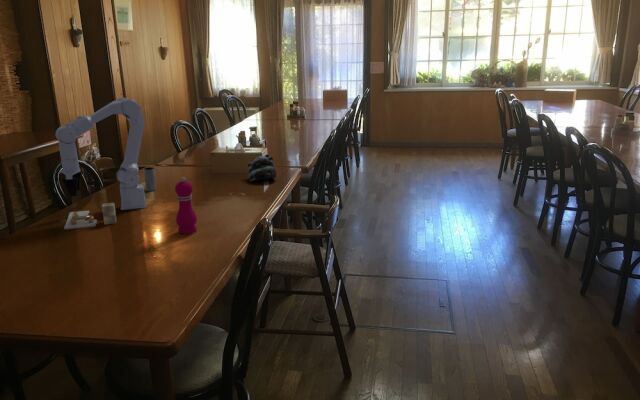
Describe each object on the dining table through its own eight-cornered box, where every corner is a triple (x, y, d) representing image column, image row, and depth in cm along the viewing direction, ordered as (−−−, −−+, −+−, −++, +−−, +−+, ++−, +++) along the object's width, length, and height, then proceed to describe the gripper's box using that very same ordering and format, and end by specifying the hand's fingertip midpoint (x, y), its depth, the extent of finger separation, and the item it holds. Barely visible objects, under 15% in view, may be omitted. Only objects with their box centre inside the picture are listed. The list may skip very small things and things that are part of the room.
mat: (89, 211, 205) (89, 210, 205) (87, 216, 199) (87, 215, 199) (70, 213, 203) (70, 212, 203) (67, 218, 197) (67, 217, 197)
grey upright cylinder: (153, 191, 233) (151, 169, 230) (144, 191, 233) (141, 169, 230) (158, 189, 237) (156, 167, 234) (149, 188, 238) (147, 167, 235)
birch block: (116, 220, 195) (114, 202, 193) (115, 223, 191) (113, 205, 189) (105, 221, 194) (102, 203, 192) (104, 224, 190) (101, 206, 188)
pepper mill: (201, 229, 184) (197, 175, 178) (190, 236, 178) (186, 180, 172) (184, 227, 187) (179, 174, 181) (173, 233, 180) (167, 179, 174)
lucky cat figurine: (243, 183, 246) (240, 155, 248) (255, 186, 257) (251, 160, 259) (271, 175, 241) (267, 148, 244) (282, 180, 252) (278, 153, 255)
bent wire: (96, 215, 197) (95, 209, 197) (93, 222, 190) (93, 216, 189) (74, 218, 195) (73, 211, 194) (71, 224, 188) (70, 218, 187)
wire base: (98, 217, 198) (97, 215, 198) (95, 226, 188) (95, 224, 188) (68, 220, 195) (68, 218, 195) (64, 229, 185) (63, 227, 185)
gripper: (61, 155, 197) (66, 189, 201) (54, 163, 184) (60, 199, 188) (80, 154, 199) (86, 187, 203) (75, 161, 186) (81, 197, 190)
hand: (75, 193), depth 196 cm, fingers open, 7 cm apart
